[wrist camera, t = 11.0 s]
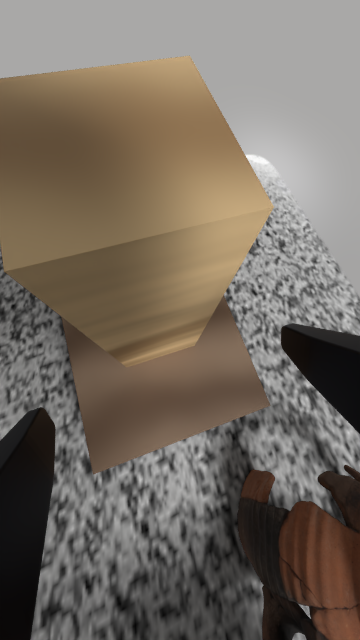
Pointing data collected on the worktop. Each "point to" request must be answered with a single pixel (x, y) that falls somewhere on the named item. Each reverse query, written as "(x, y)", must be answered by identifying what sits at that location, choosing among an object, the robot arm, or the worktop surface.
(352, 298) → the worktop surface
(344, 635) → the brown jagged curved piece
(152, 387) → the footed wooden board
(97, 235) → the wooden block
